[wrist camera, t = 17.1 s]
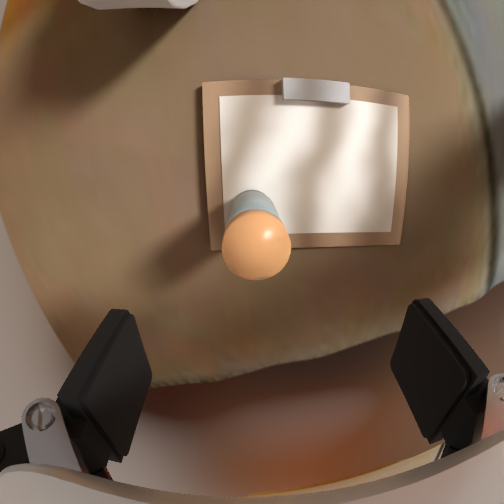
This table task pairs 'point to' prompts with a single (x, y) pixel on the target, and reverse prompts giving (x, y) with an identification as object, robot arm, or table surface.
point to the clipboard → (309, 157)
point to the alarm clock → (138, 4)
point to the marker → (255, 237)
